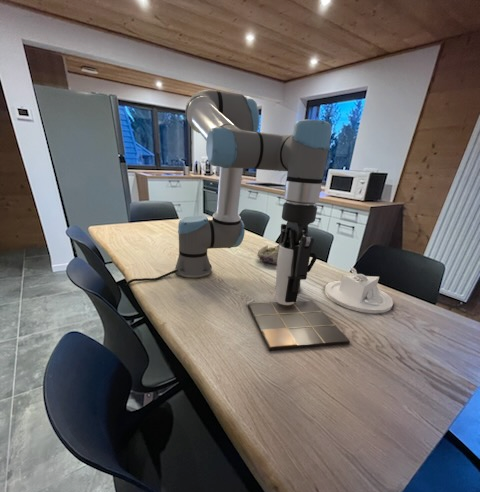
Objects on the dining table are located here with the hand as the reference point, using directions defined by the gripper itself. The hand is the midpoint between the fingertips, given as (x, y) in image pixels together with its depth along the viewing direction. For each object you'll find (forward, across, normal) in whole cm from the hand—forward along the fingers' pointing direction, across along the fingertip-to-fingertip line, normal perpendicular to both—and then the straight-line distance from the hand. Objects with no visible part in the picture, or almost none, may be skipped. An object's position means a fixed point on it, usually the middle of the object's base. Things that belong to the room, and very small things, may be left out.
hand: (285, 295), depth 68 cm
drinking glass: (+2, 0, 0) cm, 2 cm away
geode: (+14, +64, -19) cm, 68 cm away
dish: (+15, +23, -41) cm, 49 cm away
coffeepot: (+15, +32, -17) cm, 39 cm away
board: (+14, +8, -8) cm, 18 cm away
